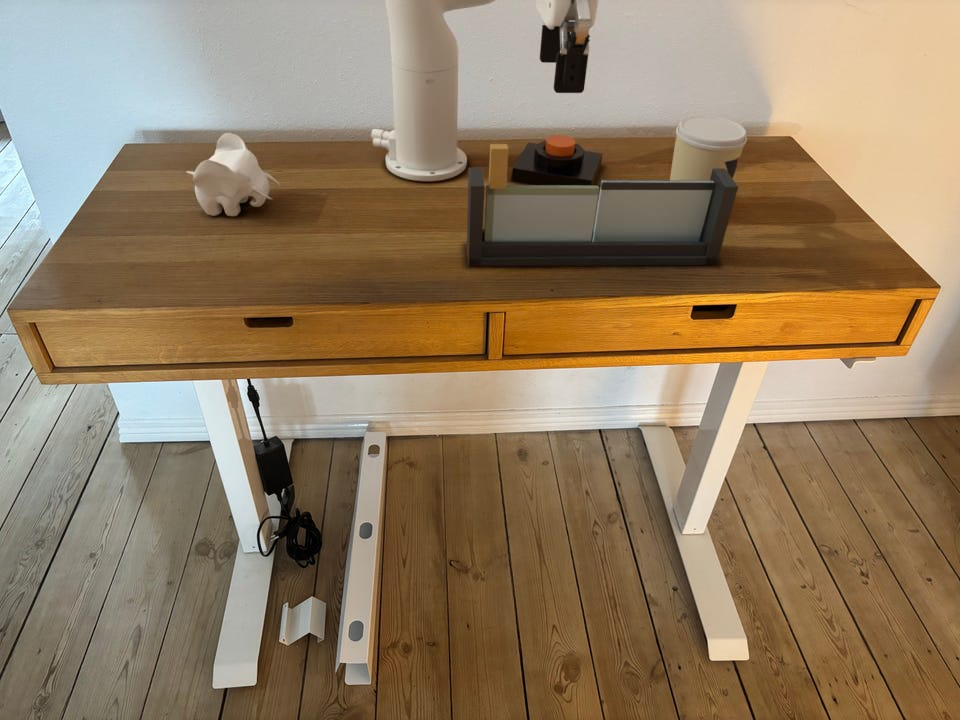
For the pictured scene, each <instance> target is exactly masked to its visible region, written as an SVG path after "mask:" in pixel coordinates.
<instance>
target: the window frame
mask: <svg viewBox="0 0 960 720" xmlns="http://www.w3.org/2000/svg"><path fill="white" fill-rule="evenodd" d="M467 176H468V177H467V180H468V182H467V214H466V215H467V217H466V219H467V220H466V227H467V228H466V254H467V261H468V262H467V264H468V267H572V266H573V267H579V266H580V267H581V266H583V267H586V266H588V267H589V266H591V267H593V266H596V267H597V266H598V267H599V266H601V267H603V266H607V267H608V266H613V267H614V266H717V264H718V260H719V256H720V253H721V250H722V246H723V243H724V239H725V236H726V232H727V228H728V226H729V223H730V218H731V215H732V211H733V208H734V204H735V202H736V201H735V200H736V196H737V193H738V191H739V190H738V189H739V186H738V184H737V183H736V182H735V180H734V178H733V179H732V177H731V176H730V175H729V173H728V172H727V171H726V169H713V170H712V174H711V178H710V181H680V180H670V179H669V180H665V179H663V180H655V179H654V180H653V179H652V180H648V179H645V180H644V179H643V180H641V179H639V180H638V179H637V180H636V179H635V180H634V179H632V180H630V179H627V180H626V179H621V180H620V179H618V180H617V179H601V181H600V187H599V193H598V199H597V206H596V212H595V219H594V225H593V231H592V238H591V242H484V212H485V188H486V186H485V182H484V181H485V180H484V173H483V167H468V175H467Z"/></svg>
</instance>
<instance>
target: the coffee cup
mask: <svg viewBox="0 0 960 720" xmlns="http://www.w3.org/2000/svg"><path fill="white" fill-rule="evenodd" d="M675 135H676V136H675V141H674V142H675V143H674V149H673V155H672V163H671V169H670V177H669V180H680V181H710V178H711V174H712V170H713V169H726V171H727V172H728V173H729V175H730V176H731V177H732V179H733V180H734V176H735V173H736V171H737V168H738V164H739V162H740V159H741V156H742V153H743V150H744V146H745V145H746V144H747V141H748V134H747V129H746V128H745V127H744V126H743V125H742V124H740V123H739V122H736V121H734V120H731V119H729V118H726V117H722V116H715V115H705V114H704V115H701V114H700V115H691V116H687V117H685V118H684V119H682V120H681V121H679V124H678V125H677V126H676V129H675Z"/></svg>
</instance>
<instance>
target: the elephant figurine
mask: <svg viewBox="0 0 960 720" xmlns="http://www.w3.org/2000/svg"><path fill="white" fill-rule="evenodd" d="M215 148H216V149H215V151H214V154H213V155H212V156H211V157H210V158H209V159H204V160H203V161H201V162H200V163H199V164H198V165H197V167H196V168H195V171H191V170H190V171H189V170H187V171H186V174H188V175H190V176H192V180H191V181H192V183H193V184H194V192H195V193H194V194H195V196H196V200H197V202H198V204H199V205H200V207H201V208H202V210H203V211H204V212H205V213H206V214H207V215H209V216H212V217H216V216H218V215H220V214H222V212H223V210H224V213H225V215H226V216H228V217H237V216H238V215H239V214H240V213H241V206H240V205H241V204H244V203H246V202H247V201H248V199H249V197H252V199H251V200H250V201H249V204H250V206H252V207H254V208H260V207H261V206H263V205H264V204H265V202H266V199H267V200H272V201H274V199H273V198H272V197H271V196H269V195H270V190H271V186H270V182H269V180H270V181H272V182H273V183H275V184H276V185H278V186H282V185H281V183H280V182H279V181H277V180H276V178H274V177H273V176H272V175H271V174H269V173H268V172H264V171H263V170H262V168H261V167H260V165H259V162H258V158H257V157H256V156H255V154H254V153H252V152H251V150H249V149H248V146H247V145H246V143H245V141H244V140H243V139H242V138H241V137H240V136H239V135H237V134H234V133H232V132H225V133H224V134H222V135H221V136H220V137H219V138H218V139H217V142H216V147H215ZM222 207H223V208H222Z"/></svg>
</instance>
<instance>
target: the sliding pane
mask: <svg viewBox="0 0 960 720" xmlns="http://www.w3.org/2000/svg"><path fill="white" fill-rule="evenodd" d="M508 145H509V144H508V143H490V144H489V165H488V166H489V167H488V184H486V186H485V202H484V226H483V229H484V242H591V238H592V231H593V229H594V226H595V219H596V212H597V206H598V199H599V193H600V187H599V185H595V184H594V185H531V184H523V185H521V184H519V185H518V184H517V185H516V184H507V182H508V166H509V165H508V164H509V150H510V149H509V146H508Z"/></svg>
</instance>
